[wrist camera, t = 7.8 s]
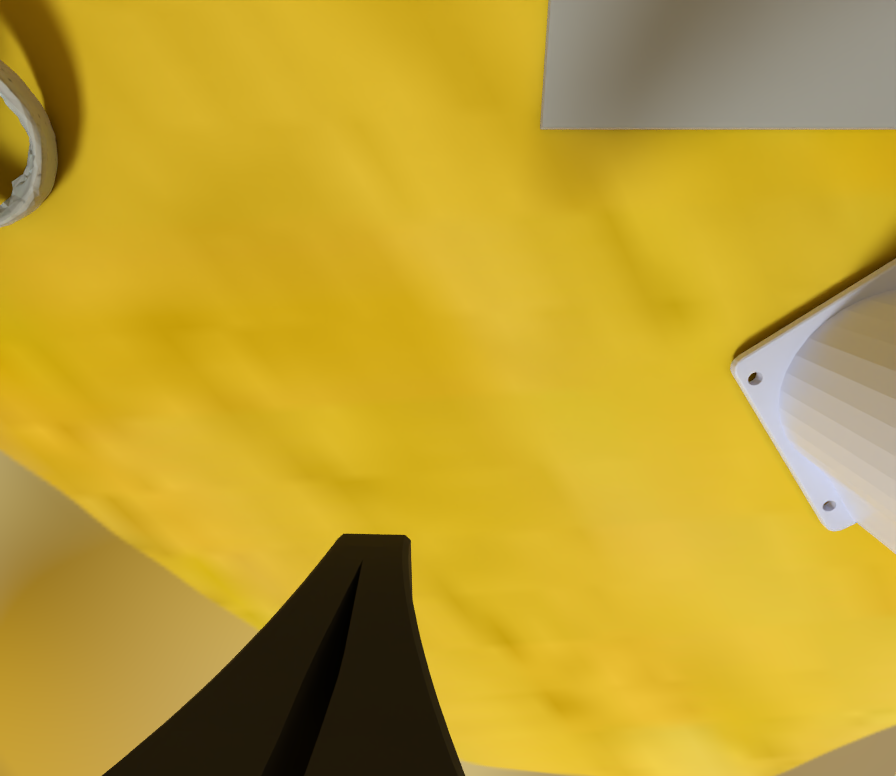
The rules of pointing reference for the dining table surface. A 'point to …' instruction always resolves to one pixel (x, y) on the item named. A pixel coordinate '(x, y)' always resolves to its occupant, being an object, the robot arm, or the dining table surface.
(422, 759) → the robot arm
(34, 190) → the ceramic mug
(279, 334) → the dining table surface
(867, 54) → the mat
